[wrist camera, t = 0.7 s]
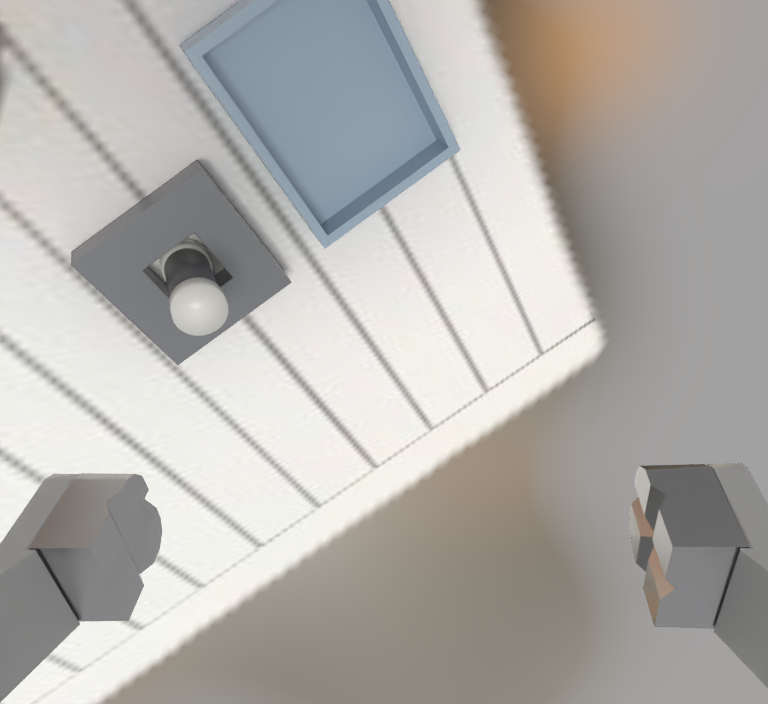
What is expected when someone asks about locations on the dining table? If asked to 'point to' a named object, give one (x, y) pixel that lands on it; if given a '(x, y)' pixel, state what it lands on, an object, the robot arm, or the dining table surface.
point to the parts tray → (326, 102)
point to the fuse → (193, 289)
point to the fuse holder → (159, 235)
